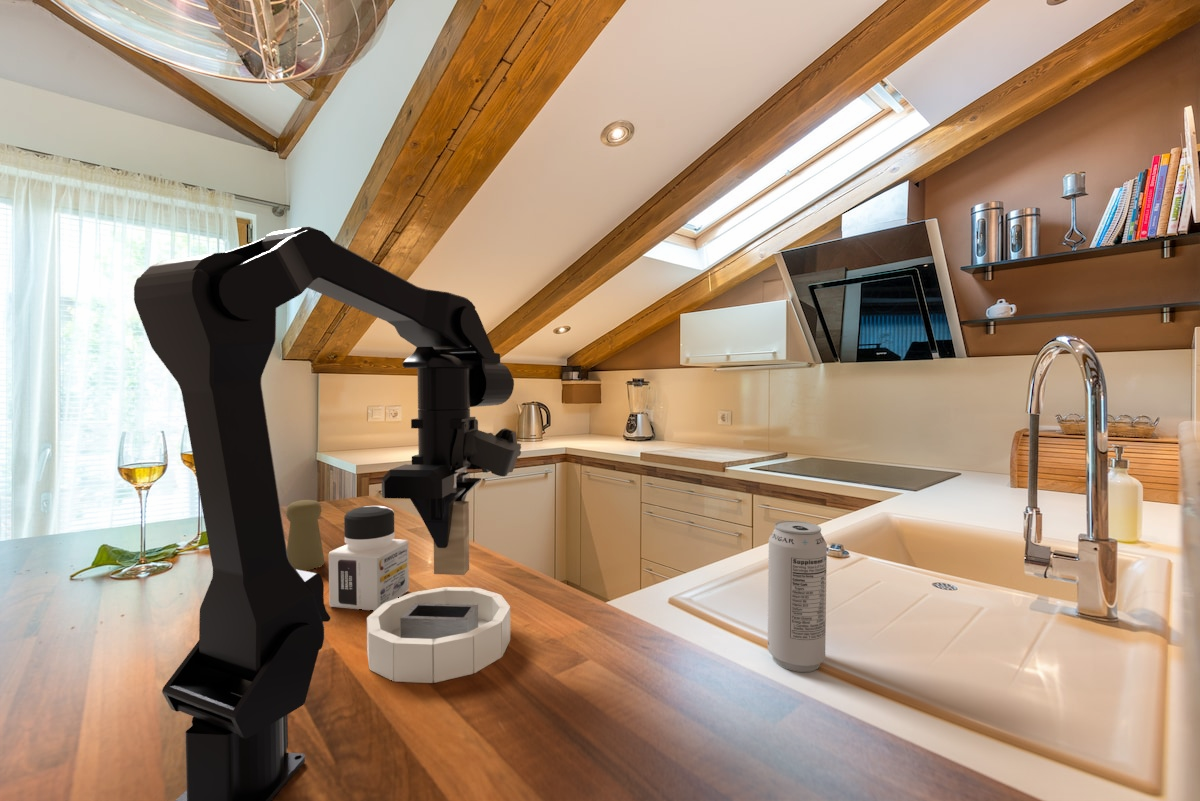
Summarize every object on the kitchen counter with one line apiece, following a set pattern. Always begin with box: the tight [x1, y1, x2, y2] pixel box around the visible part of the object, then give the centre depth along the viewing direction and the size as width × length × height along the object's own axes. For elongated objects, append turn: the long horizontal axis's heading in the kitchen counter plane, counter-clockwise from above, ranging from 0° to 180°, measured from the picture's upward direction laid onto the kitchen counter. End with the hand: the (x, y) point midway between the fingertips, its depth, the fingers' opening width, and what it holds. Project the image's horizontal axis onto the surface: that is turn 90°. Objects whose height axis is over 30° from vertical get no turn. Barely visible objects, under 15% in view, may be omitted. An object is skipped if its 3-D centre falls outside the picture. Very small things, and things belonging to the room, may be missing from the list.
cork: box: [285, 499, 326, 571], centre depth 92 cm, size 6×6×11 cm
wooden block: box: [433, 500, 470, 576], centre depth 62 cm, size 2×4×8 cm, turn 85°
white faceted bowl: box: [366, 586, 511, 684], centre depth 64 cm, size 16×16×4 cm
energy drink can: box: [767, 520, 828, 673], centre depth 60 cm, size 6×6×15 cm
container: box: [328, 505, 410, 612], centre depth 77 cm, size 8×8×13 cm
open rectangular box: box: [400, 603, 478, 639], centre depth 64 cm, size 5×8×3 cm, turn 86°
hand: (445, 544), depth 62 cm, fingers closed on wooden block, 2 cm apart
